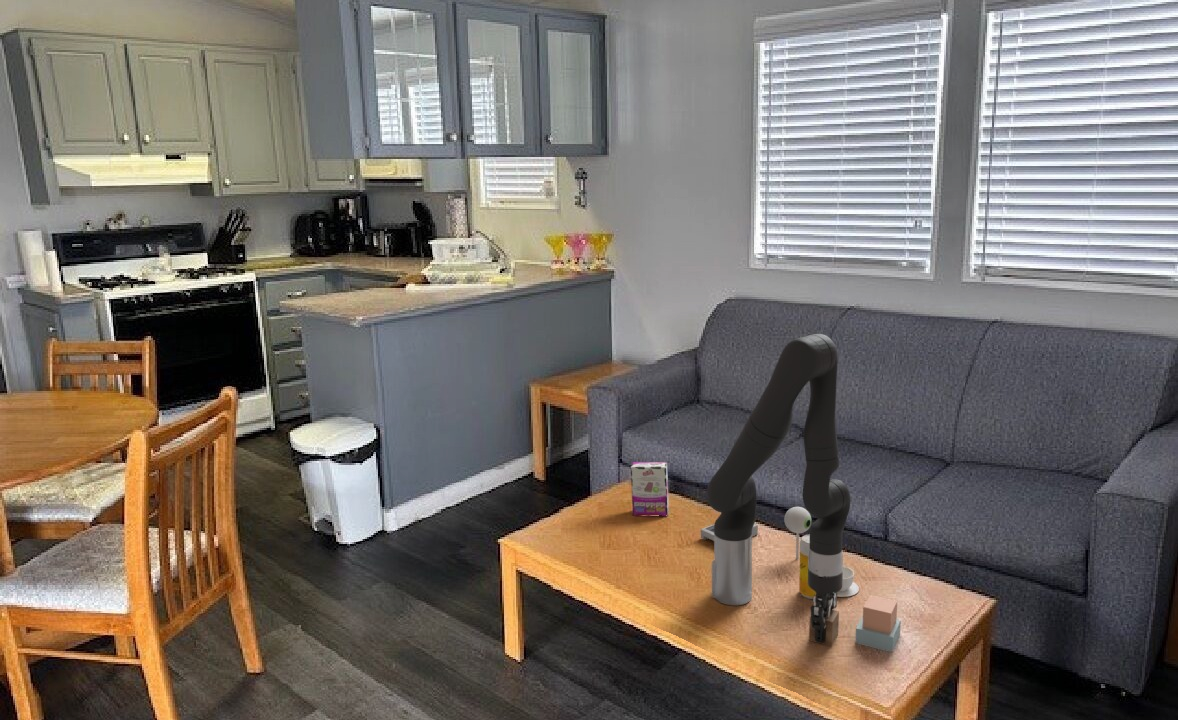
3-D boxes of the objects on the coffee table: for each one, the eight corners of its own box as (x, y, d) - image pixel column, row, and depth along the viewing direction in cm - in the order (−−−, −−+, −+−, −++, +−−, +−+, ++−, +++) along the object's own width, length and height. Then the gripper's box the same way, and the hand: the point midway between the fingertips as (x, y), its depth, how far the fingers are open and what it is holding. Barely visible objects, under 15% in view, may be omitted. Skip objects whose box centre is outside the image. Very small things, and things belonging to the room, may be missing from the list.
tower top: (862, 627, 186) (863, 606, 185) (869, 614, 191) (870, 594, 190) (890, 633, 183) (891, 613, 182) (896, 621, 188) (897, 601, 186)
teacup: (847, 602, 204) (848, 585, 202) (810, 590, 210) (811, 573, 209) (865, 587, 211) (866, 570, 210) (829, 575, 217) (830, 558, 216)
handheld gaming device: (758, 536, 242) (758, 524, 241) (721, 550, 234) (721, 538, 233) (736, 527, 249) (736, 515, 248) (700, 540, 241) (700, 528, 240)
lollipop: (800, 567, 222) (801, 515, 218) (778, 558, 227) (779, 507, 224) (815, 558, 226) (817, 507, 223) (794, 550, 232) (794, 500, 228)
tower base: (855, 644, 186) (856, 628, 185) (864, 627, 193) (864, 611, 192) (892, 653, 182) (893, 637, 181) (900, 635, 189) (900, 619, 188)
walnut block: (809, 640, 188) (809, 616, 187) (815, 629, 192) (816, 606, 191) (832, 646, 185) (832, 622, 184) (838, 634, 190) (838, 611, 188)
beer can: (805, 585, 212) (806, 531, 209) (828, 592, 208) (829, 537, 205) (795, 595, 208) (795, 540, 204) (817, 602, 204) (819, 546, 200)
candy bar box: (669, 510, 262) (667, 461, 258) (667, 517, 257) (666, 467, 253) (633, 509, 264) (632, 461, 260) (632, 516, 259) (630, 466, 255)
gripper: (817, 550, 193) (816, 616, 197) (799, 577, 181) (798, 646, 185) (850, 557, 189) (848, 623, 193) (833, 584, 177) (831, 655, 181)
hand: (823, 634), depth 189 cm, fingers open, 5 cm apart
